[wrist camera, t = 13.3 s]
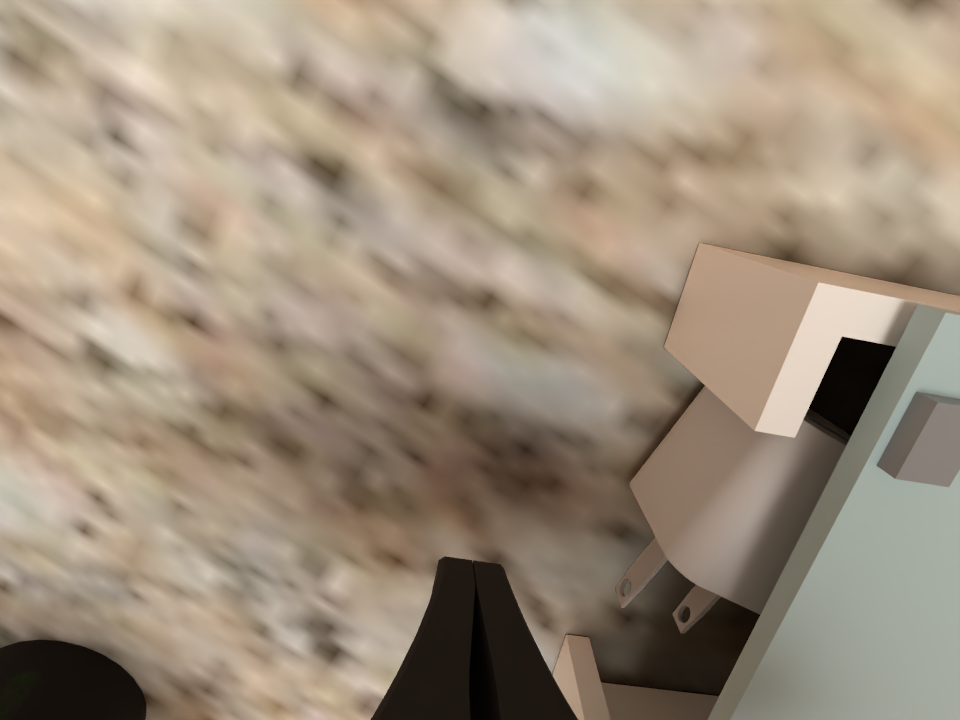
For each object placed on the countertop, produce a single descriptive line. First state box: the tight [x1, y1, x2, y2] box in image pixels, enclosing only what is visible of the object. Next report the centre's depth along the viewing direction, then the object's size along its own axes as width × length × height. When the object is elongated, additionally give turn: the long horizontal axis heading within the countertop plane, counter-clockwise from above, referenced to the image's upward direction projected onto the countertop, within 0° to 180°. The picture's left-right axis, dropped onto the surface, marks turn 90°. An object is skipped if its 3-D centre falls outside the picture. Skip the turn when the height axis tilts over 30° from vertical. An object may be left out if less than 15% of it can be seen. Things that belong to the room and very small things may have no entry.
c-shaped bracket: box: [552, 243, 960, 720], centre depth 14 cm, size 16×9×5 cm, turn 169°
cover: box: [707, 304, 960, 720], centre depth 11 cm, size 16×8×1 cm, turn 169°
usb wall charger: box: [615, 386, 851, 634], centre depth 13 cm, size 4×7×4 cm, turn 150°
